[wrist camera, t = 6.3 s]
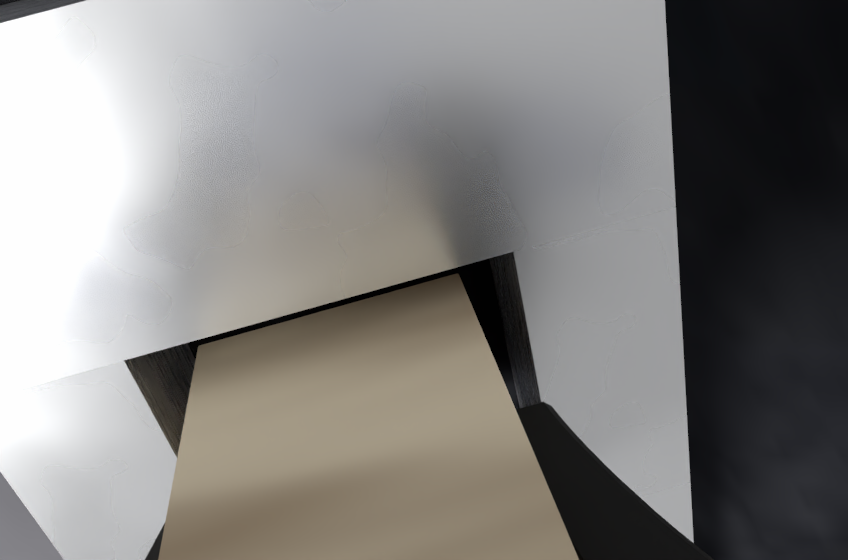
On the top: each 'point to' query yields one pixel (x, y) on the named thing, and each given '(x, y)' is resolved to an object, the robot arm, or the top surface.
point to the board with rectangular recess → (324, 218)
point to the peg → (359, 442)
